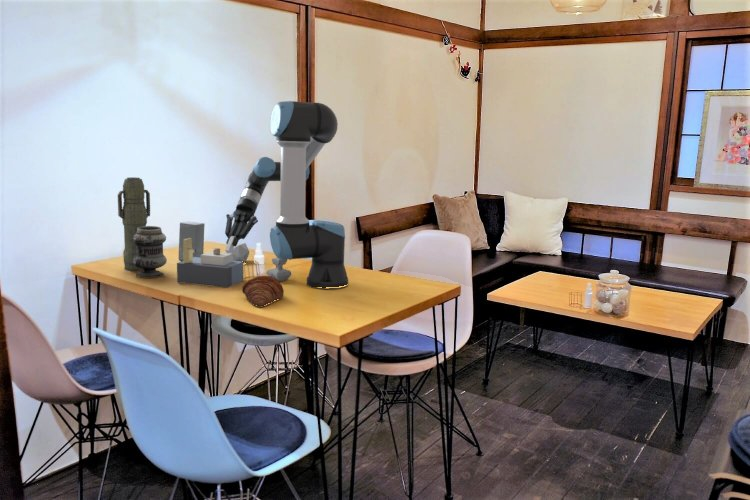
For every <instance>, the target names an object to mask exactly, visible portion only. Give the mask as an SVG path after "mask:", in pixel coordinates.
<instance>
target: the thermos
mask: <svg viewBox="0 0 750 500" xmlns="http://www.w3.org/2000/svg"><path fill="white" fill-rule="evenodd" d="M122 197H123V199H122ZM145 201H146V203H145ZM117 210H118V211H117V215H118V217H119V218H120V219H122V222H121V223H122V226H123V233H124V235H123V237H124V241H123V242H124V250H123V255H122V256H123V264H124V268H123V269H124V270H126V271H135V272H137V271H139V272H140V271H144V269H142V268H139V267H137V266H135V265H134V264H133V257H134V256H135V255H136V243H134V242H133V240H132V237H133V235H134V234H136V232H137V228H138V227H142V226H147V223H148V217H151V193H150V192H149V190H148V189H145V184H144V181H143V179H142V178H140V177H136V176H135V177H126V178H124V181H123V184H122V190H120V191H119V192H118V193H117Z"/></svg>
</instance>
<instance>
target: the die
mask: <svg viewBox="0 0 750 500" xmlns="http://www.w3.org/2000/svg"><path fill="white" fill-rule="evenodd" d="M232 254H233V261H241V262H242V261H246V262H247V260H248V257H249V255H250V250H249V247H248V245H247V243H246V242H238V243H237V246H234V248H233V251H232Z"/></svg>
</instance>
